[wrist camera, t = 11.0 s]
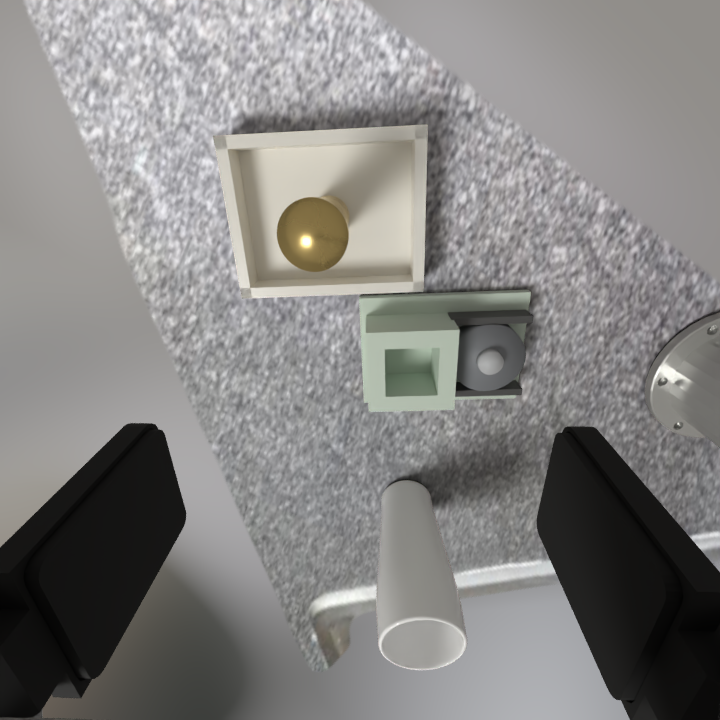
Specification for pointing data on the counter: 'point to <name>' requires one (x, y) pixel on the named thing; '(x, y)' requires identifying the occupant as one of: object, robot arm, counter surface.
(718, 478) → the counter surface
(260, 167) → the tray
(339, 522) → the counter surface
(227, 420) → the counter surface
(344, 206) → the pin
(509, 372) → the green socket holder
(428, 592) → the drinking glass
